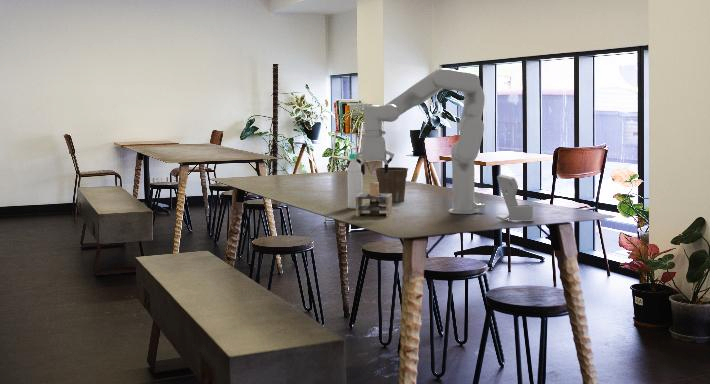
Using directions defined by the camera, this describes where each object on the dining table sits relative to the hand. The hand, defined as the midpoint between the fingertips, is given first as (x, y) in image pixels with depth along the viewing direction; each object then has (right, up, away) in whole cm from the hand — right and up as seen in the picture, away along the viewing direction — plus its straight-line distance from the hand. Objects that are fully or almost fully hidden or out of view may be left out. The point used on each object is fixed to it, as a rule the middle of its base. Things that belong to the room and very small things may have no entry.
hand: (374, 174), depth 360 cm
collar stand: (0, -18, +2) cm, 18 cm away
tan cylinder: (0, -18, +2) cm, 18 cm away
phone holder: (+57, -19, -19) cm, 63 cm away
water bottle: (-8, -15, +26) cm, 31 cm away
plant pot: (+10, -13, +47) cm, 49 cm away
